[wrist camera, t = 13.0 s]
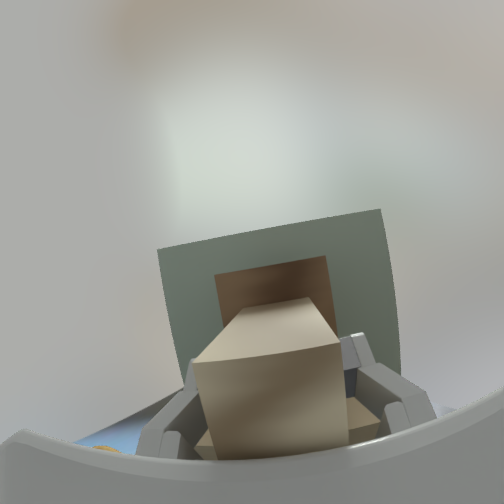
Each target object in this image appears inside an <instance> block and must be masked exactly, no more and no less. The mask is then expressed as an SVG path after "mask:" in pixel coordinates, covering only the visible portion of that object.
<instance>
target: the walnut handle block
mask: <svg viewBox="0 0 504 504" xmlns="http://www.w3.org/2000/svg"><path fill="white" fill-rule="evenodd" d="M214 277H215V283H216V289H217V294H218V300H219V305H220V311H221V316H222V322H223V327H224V329H223V330H222V332H221V333H220V334H219V335H218V336H217V337H216V338H215V339H214V340H213V341H212V342H211V343H210V344H209V345H208V346H207V347H206V349H205V350H204V351H203V352H202V353H201V354H200V355H199V356H198V357H197V358H196V359H195V360H194V361H193V362H192V367H193V371H194V376H195V380H196V384H197V388H198V392H199V396H200V400H201V403H202V407H203V411H204V415H205V418H206V422H207V425H208V429H209V432H210V436H211V439H212V442H213V446H214V449H215V452H216V456H217V459H218V460H246V459H262V458H273V457H283V456H291V455H299V454H306V453H312V452H318V451H324V450H329V449H334V448H339V447H344V446H349V436H348V419H347V404H346V392H345V381H344V370H343V361H342V352H341V343H340V341H339V339H338V333H337V326H336V318H335V311H334V304H333V297H332V291H331V285H330V278H329V272H328V266H327V261H326V255H324V256H318V257H313V258H307V259H302V260H296V261H291V262H285V263H280V264H274V265H268V266H263V267H257V268H251V269H245V270H240V271H234V272H228V273H222V274H216V275H214Z"/></svg>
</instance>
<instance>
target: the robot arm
mask: <svg viewBox="0 0 504 504" xmlns="http://www.w3.org/2000/svg"><path fill="white" fill-rule="evenodd" d="M338 339H339V341H340V343H341V352H342V361H343V370H344V381H345V392H346V398H351V397H355V398H356V399H357V400H358V401H359V402H360V403H361V404H362V405H363V406H365V407H366V408H367V409H368V410H369V411H370V412H371V413H372V414H373V415H375V416H376V417H377V418H378V419H379V420H380V424H379V427H378V431H377V434H376V437H375V439H373V440H369V441H365V442H361V443H357V444H353V445H349V446H344V447H339V448H334V449H329V450H324V451H318V452H312V453H306V454H299V455H291V456H283V457H273V458H262V459H246V460H204V459H203V458H202V457H201V456H200V455H199V454H198V453H197V452H196V451H195V450H194V447H195V446H196V445H197V443H198V442H199V441H200V439H201V438H202V436H203V435H204V434H205V432H206V431H207V430H208V425H207V422H206V418H205V415H204V411H203V407H202V403H201V400H200V396H199V392H198V388H197V384H196V380H195V376H194V371H193V367H192V362H193V361H194V360H195V359H196V358H192V359H191V360H190V362H189V366H188V370H187V375H186V380H185V384H184V389H183V391H179V392H178V393H177V394H176V395H175V396H174V397H173V398H172V399H171V400H170V401H169V402H168V403H167V404H166V405H165V406H164V407H163V408H162V409H161V410H160V411H159V412H158V413H157V414H156V415H155V416H154V417H153V418H152V419H151V420H150V421H149V422H148V423H147V424H146V425H145V426H144V427H143V428H142V431H141V435H140V438H139V442H138V446H137V450H136V454H135V455H131V454H124V453H118V452H112V451H106V450H101V449H96V448H91V447H87V446H82V445H78V444H74V443H70V442H66V441H63V440H59V439H55V438H52V437H49V436H46V435H42V434H39V433H36V432H34V431H31V430H27V429H23V430H20V431H18V432H17V433H15V434H14V435H12V436H11V437H10V438H8V439H7V440H6V441H4V442H3V443H2V444H1V445H0V504H504V386H503V387H501V388H500V389H498V390H496V391H494V392H492V393H490V394H488V395H487V396H485V397H483V398H481V399H479V400H477V401H475V402H473V403H471V404H469V405H466V406H464V407H462V408H460V409H458V410H455V411H453V412H451V413H449V414H446V415H444V416H441V417H439V418H437V417H436V414H435V412H434V410H433V407H432V405H431V403H430V400H429V398H428V396H427V394H426V391H424V390H422V389H421V388H419V387H418V386H416V385H415V384H413V383H411V382H410V381H408V380H407V379H405V378H403V377H402V376H400V375H399V374H397V373H396V372H394V371H392V370H391V369H389V368H388V367H386V366H385V365H383V364H381V363H376V362H375V359H374V357H373V354H372V352H371V349H370V347H369V344H368V342H367V339H366V337H365V334H364V333H363V332H361V333H357V334H352V335H350V336H349V335H348V336H343V337H339V338H338Z"/></svg>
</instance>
